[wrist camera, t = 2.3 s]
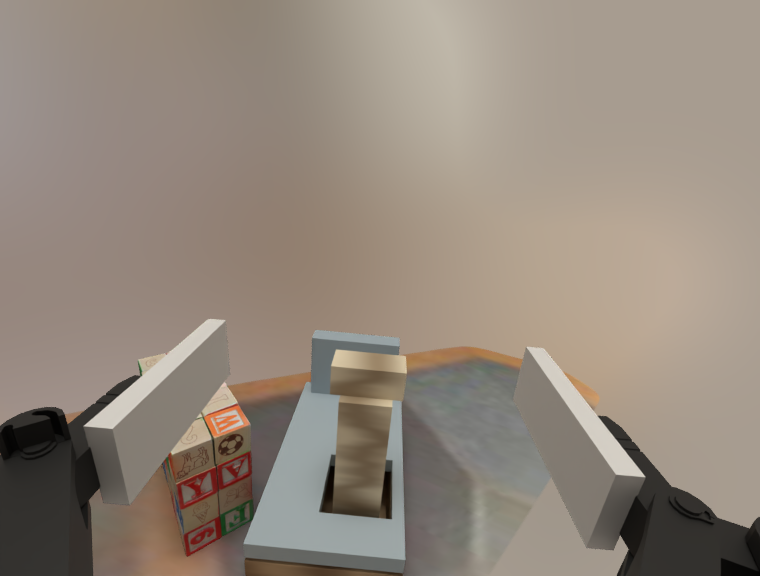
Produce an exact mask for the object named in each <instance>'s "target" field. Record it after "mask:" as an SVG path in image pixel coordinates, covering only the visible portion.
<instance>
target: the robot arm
mask: <svg viewBox="0 0 760 576" xmlns="http://www.w3.org/2000/svg"><path fill="white" fill-rule="evenodd" d="M229 375H230V367H229V354H228V341H227V331H226V321H225V320H215V319H208V320H207V321H205V322H204V323H203V324H202V325H201V326H200V327H199V328H197V329H196V330H195V331H194V332H193V333H191V334H190V335H189V336H188V337H187V338H186V339H184V340H183V341H182V342H181V343H180V344H179V345H177V346H176V347H175V348H174V349H173V350H172V351H171V352H169V353H168V354H167V355H166V356H165V357H164V358H162V359H161V360H160V361H159V362H158V363H157V364H155V365H154V366H153V367H152V368H151V369H150V370H148V371H147V372H146V373H145V374H144V375H143V376H136V375H135V376H132V377H130V378H128V379H126V380H124V381H122V382H120V383H118V384H117V385H116V386H115V387H113V388H112V389H111V390H110V391H108V392H107V393H106V395H104V396H102V397H101V398H100V399H99V400H97V401H96V403H95V404H93V405H91V406H90V407H89V408H88V409H86V410H85V411H84V412H83V413H81V414H80V415H79V416H78V417H76V418H75V419H74V420H73V421H71V422H70V423H69V424H68V425H67V421H66V418H65V414H64V412H63V411H62V410H61V409H59V408H56V407H44V408H38V409H33V410H30V411H27V412H24V413H21V414H19V415H17V416H15V417H13V418H11V419H9V420H7V421H6V422H5V423H3V424H2V425H1V426H0V453H1V455H0V576H93V559H92V529H91V507H90V504H89V499H90V498H91V497H92V496H93V495H94V493H95V492H96V491H97V490H98V489H99V488H100V492H101V495H102V499H103V503H109V504H120V505H130V504H131V503H132V502H133V501H134V499H135V498H136V497H137V495H138V494H139V493H140V491H141V490H142V489H143V487H144V486H145V485H146V484H147V482H148V481H149V480H150V478H151V477H152V476H153V474H154V473H155V472H156V470H157V469H158V468H159V467H160V465H161V464H162V463H163V461H164V460H165V459H166V457H167V456H168V455H169V453H170V452H171V451H172V450H173V448H174V447H175V446H176V444H177V443H178V442H179V440H180V439H181V438H182V436H183V435H184V434H185V433H186V431H187V430H188V429H189V427H190V426H191V425H192V423H193V422H194V421H195V419H196V418H197V417H198V416H199V414H200V413H201V412H202V410H203V409H204V408H205V406H206V405H207V404H208V402H209V401H210V400H211V399H212V397H213V396H214V395H215V393H216V392H217V391H218V389H219V388H220V387H221V385H222V384H223V383H224V382H225V380H226V379H227V378H228V376H229ZM513 400H514V402H515V404H516V406H517V408H518V410H519V412H520V414H521V416H522V419H523V421H524V423H525V425H526V427H527V429H528V431H529V433H530V435H531V437H532V439H533V441H534V443H535V445H536V447H537V449H538V451H539V453H540V455H541V457H542V459H543V461H544V463H545V465H546V467H547V469H548V471H549V473H550V475H551V477H552V479H553V481H554V483H555V485H556V487H557V489H558V491H559V493H560V495H561V497H562V499H563V502H564V503H565V506H566V508H567V510H568V512H569V514H570V516H571V518H572V520H573V522H574V524H575V525H576V528H577V530H578V532H579V534H580V536H581V538H582V540H583V542H584V544H585V546H586V548H594V549H605V550H614V548H615V545H616V543H617V541H618V539H619V536H620V535H621V537H622V539H623V540H624V542H625V544H626V545H627V547H628V549H629V550H628V552H627V554H626V556H625V559H624V561H623V563H622V565H621V567H620V569H619V572H618V574H617V576H760V517H758V518H757V519H756V520H755V521H754V523H753V524H752V526H751V528H750V529H749V528H746V527H743V526H740V525H737V524H734V523H731V522H728V521H725V520H722V519H719V518H717V517H716V515H715V514H714V513H713V512H712V510H711V509H710V508H709V507H708V506H707V505H705V504H704V503H703V502H702V501H701V500H699V499H698V498H696V497H694V496H693V495H691V494H690V493H688V492H685V491H683V490H680V489H678V488H675V487H671V485H669V483H668V482H667V481H666V480H665V478H664V477H663V476H662V475H661V474H660V472H659V471H658V470H657V469H656V468H655V467H654V465H653V464H652V463H651V462H650V461H649V460H648V458H647V457H646V456H645V455H644V454H643V452H640V449H639V448H638V447H637V445H636V444H635V443H634V442H632V440H631V438H630V437H629V436H628V435H627V434H626V432H625V431H624V430H623V429H622V428H621V427H620V426H619V425H617V424H616V423H615V422H613V421H612V420H611V419H609V418H608V417H606V416H597V415H596V414H595V412H594V411H593V410H592V409H591V407H590V406H589V405H588V404H587V402H586V401H585V400H584V398H583V397H582V396H581V395H580V393H579V392H578V391H577V390H576V388H575V387H574V386H573V385H572V383H571V382H570V381H569V379H568V378H567V377H566V376H565V374H564V373H563V372H562V371H561V370H560V368H559V367H558V366H557V364H556V363H555V362H554V360H553V359H552V358H551V357H550V355H549V354H548V353H547V352H546V350H545V349H544V348H534V347H526V350H525V354H524V358H523V362H522V366H521V370H520V374H519V378H518V382H517V386H516V390H515V394H514V398H513Z"/></svg>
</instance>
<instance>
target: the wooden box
mask: <svg viewBox="0 0 760 576" xmlns="http://www.w3.org/2000/svg"><path fill="white" fill-rule="evenodd" d="M334 477H335V466H331V467H330V472H329V476H328V481H327V486H326V491H325V496H324V501H323V505H322V510H321V513H333V495H334ZM379 518H382V519H391V472H387V471H385V473H384V481H383V489H382V498H381V506H380V514H379ZM245 574H246V576H403V573H396V572H386V571H376V570H366V569H356V568H346V567H336V566H326V565H316V564H306V563H296V562H286V561H276V560H266V559H256V558H245Z"/></svg>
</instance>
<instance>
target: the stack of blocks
mask: <svg viewBox="0 0 760 576" xmlns="http://www.w3.org/2000/svg"><path fill="white" fill-rule="evenodd" d="M168 353H169V352H167V353H165V354H160V355H156V356H152V357H147V358H143V359H139V360H138V365H139V370H140V376H143V375H144V374H145V373H146V372H147V371H148V370H150V369H151V368H152V367H153V366H154V365H155V364H157V363H158V362H159V361H160V360H161V359H162V358H164V357H165V356H166V355H167V354H168ZM162 464H163V468H164V471H165V475H166V479H167V482H168V485H169V489H170V493H171V496H172V501H173V507H174V511H175V514H176V518H177V522H178V526H179V531H180V535H181V539H182V543H183V546H184V550H185V554H186V556H189V555H191V554H193V553H195V552H196V551H198V550H200V549H202V548H204V547H205V546H207V545H209V544H211V543H212V542H214V541H216V540H218V539H220V538H221V537H222V536H224V535H226V534H228V533H229V532H231V531H233V530H235V529H237V528H238V527H240V526H242V525H244V524H246V523H247V522H249V521H251V520H253V497H252V478H251V474H252V457H251V428H250V423H249V421H248V420H247V418H246V416H245V415H244V413H243V412H242V410H241V408H240V407H239V406H238V402H237V400H236V399H235V397H234V396H233V394H232V393H231V391H230V390H229V388H228V387H227V384H226V383H225V382H224V383H223V384H222V385H221V387H220V388H219V389H218V391H217V392H216V393H215V395H214V396H213V397H212V399H211V400H210V401H209V402H208V404H207V405H206V406H205V408H204V409H203V410H202V412H201V413H200V414H199V416H198V417H197V418H196V419H195V421H194V422H193V423H192V425H191V426H190V427H189V429H188V430H187V431H186V433H185V434H184V435H183V436H182V438H181V439H180V440H179V442H178V443H177V444H176V446H175V447H174V448H173V450H172V451H171V452H170V453H169V455H168V456H167V457H166V459H165V460H164V461H163V463H162Z"/></svg>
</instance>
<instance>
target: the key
mask: <svg viewBox="0 0 760 576" xmlns="http://www.w3.org/2000/svg"><path fill="white" fill-rule="evenodd" d="M406 375H407V370H406V356H399V355H388V354H378V353H368V352H357V351H347V350H336V351H335V355H334V358H333V361H332V365H331V378H330V394H333V395H340V398H339V405H338V423H337V441H336V459H335V477H334V495H333V513H332V514H342V515H352V516H362V517H372V518H379V514H380V506H381V498H382V489H383V481H384V473H385V465H386V456H387V448H388V440H389V432H390V423H391V415H392V403H393V400H395V401H403V398H404V390H405V383H406Z"/></svg>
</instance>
